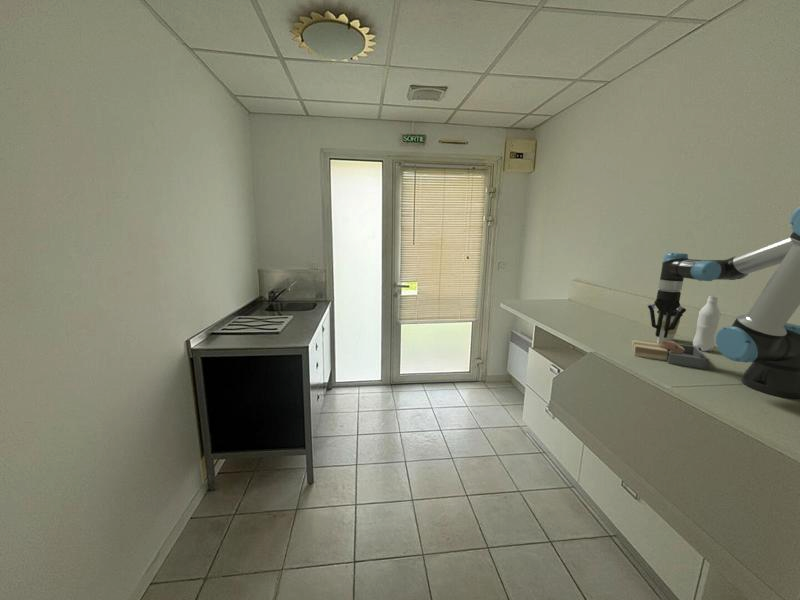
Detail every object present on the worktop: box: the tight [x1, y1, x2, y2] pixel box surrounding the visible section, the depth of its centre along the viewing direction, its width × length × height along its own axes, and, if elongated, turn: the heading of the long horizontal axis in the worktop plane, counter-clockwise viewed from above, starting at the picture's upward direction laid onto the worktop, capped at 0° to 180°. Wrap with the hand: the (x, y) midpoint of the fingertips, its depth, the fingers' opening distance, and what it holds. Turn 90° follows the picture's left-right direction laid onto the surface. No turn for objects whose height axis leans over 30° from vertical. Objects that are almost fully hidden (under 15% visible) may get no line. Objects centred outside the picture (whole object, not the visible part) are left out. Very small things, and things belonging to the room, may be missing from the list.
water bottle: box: [692, 294, 722, 352], centre depth 147 cm, size 7×7×25 cm
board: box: [630, 338, 668, 362], centre depth 143 cm, size 12×11×4 cm
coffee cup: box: [656, 309, 683, 342], centre depth 163 cm, size 10×10×15 cm
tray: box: [666, 343, 710, 370], centre depth 138 cm, size 18×12×4 cm, turn 150°
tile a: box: [660, 340, 678, 350], centre depth 140 cm, size 4×4×2 cm
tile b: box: [669, 345, 685, 355], centre depth 139 cm, size 4×4×2 cm
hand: (659, 344), depth 141 cm, fingers closed
